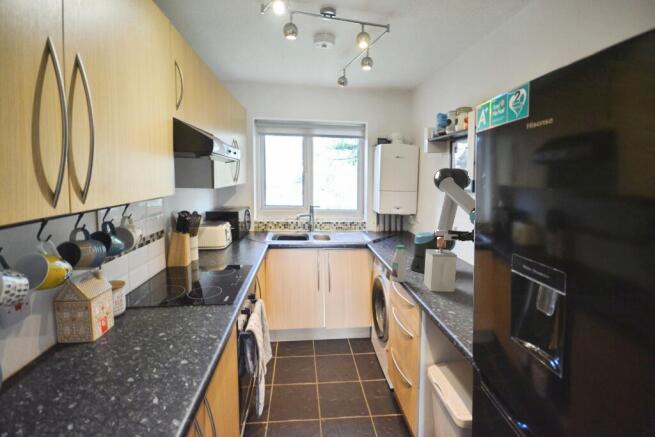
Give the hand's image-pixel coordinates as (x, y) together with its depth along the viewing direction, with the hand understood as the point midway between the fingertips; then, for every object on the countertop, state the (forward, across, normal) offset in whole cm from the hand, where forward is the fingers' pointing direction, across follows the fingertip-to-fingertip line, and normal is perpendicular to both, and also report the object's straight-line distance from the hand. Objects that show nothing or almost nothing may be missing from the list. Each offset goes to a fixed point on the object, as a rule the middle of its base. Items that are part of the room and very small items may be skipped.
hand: (439, 234), depth 166 cm
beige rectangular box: (-1, -1, -28) cm, 28 cm away
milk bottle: (+18, +10, -28) cm, 35 cm away
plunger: (-1, 0, -27) cm, 27 cm away
